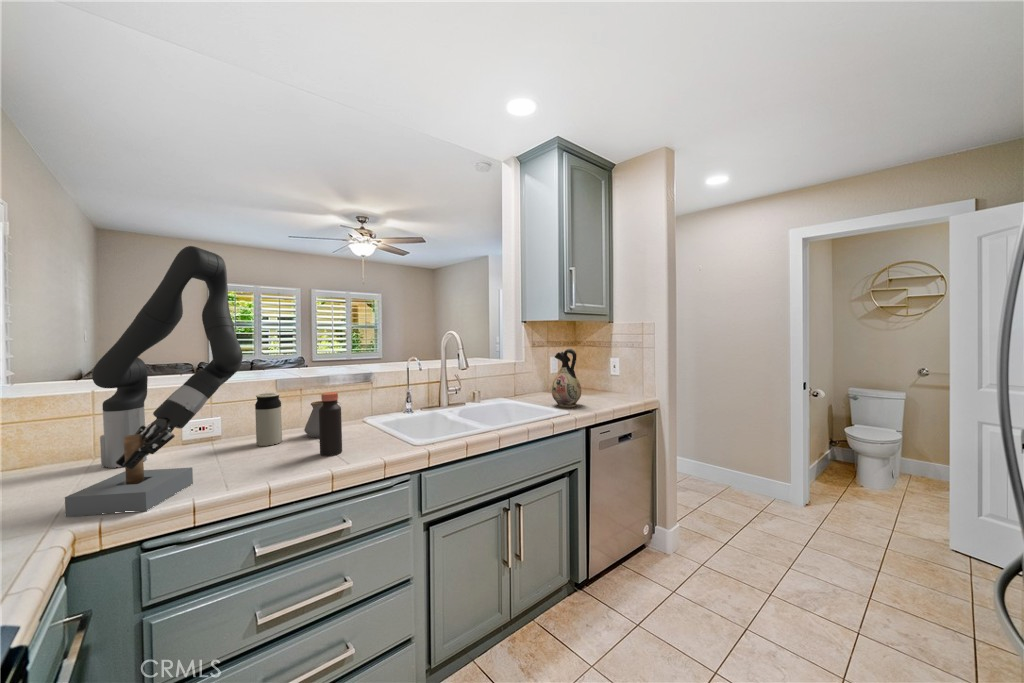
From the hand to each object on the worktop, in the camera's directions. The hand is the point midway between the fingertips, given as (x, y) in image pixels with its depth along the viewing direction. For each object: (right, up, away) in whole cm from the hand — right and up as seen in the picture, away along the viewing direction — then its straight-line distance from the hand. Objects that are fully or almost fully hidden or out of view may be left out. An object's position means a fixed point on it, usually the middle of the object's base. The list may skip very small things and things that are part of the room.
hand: (123, 466), depth 94 cm
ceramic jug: (+123, -4, +110) cm, 165 cm away
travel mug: (+5, -7, +48) cm, 49 cm away
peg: (+1, -5, +2) cm, 6 cm away
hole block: (+1, -9, +2) cm, 9 cm away
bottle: (+33, -7, +36) cm, 50 cm away
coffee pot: (+22, -7, +56) cm, 60 cm away
